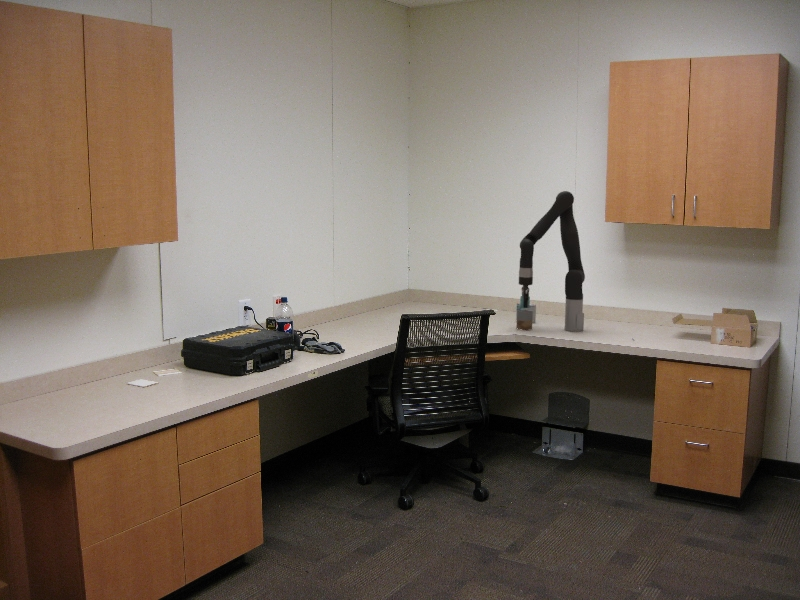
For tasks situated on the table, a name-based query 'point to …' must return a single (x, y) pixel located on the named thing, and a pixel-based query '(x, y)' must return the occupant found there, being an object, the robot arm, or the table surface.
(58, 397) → the table surface
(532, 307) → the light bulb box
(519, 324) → the walnut base block
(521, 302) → the teal cylinder
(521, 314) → the grey top block
